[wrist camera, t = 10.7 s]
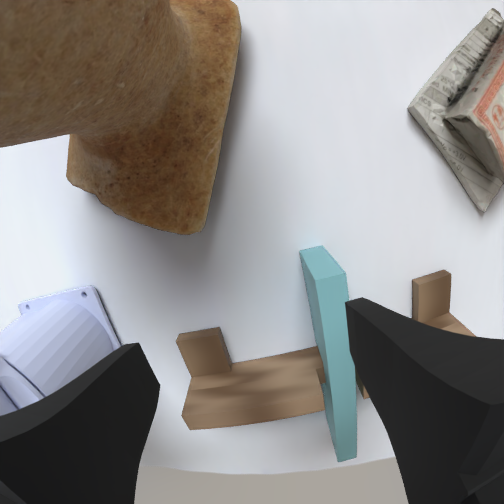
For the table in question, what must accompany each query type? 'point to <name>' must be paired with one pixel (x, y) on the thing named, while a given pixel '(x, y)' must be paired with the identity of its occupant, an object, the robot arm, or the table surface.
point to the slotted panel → (333, 346)
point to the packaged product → (469, 109)
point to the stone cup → (124, 97)
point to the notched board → (281, 369)
